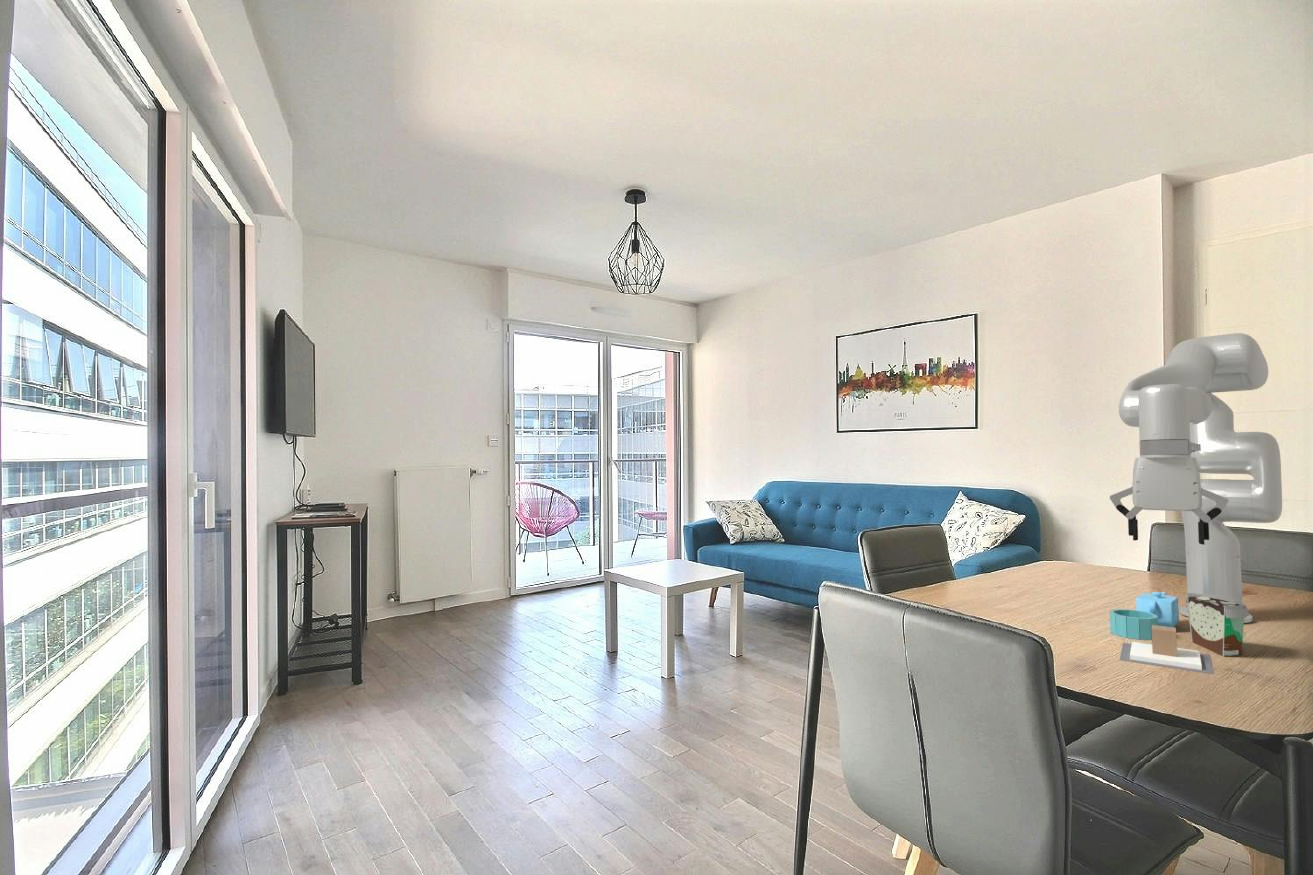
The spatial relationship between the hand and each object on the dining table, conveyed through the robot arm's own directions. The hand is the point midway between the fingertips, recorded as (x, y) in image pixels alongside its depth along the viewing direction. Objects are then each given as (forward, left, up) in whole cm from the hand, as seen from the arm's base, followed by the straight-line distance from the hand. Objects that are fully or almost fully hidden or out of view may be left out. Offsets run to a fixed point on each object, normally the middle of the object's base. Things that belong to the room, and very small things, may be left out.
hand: (1167, 541), depth 119 cm
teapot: (-26, -2, -22) cm, 34 cm away
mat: (+2, -1, -22) cm, 22 cm away
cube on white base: (+2, -1, -21) cm, 21 cm away
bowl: (-13, -6, -22) cm, 26 cm away
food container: (-10, +8, -22) cm, 25 cm away
